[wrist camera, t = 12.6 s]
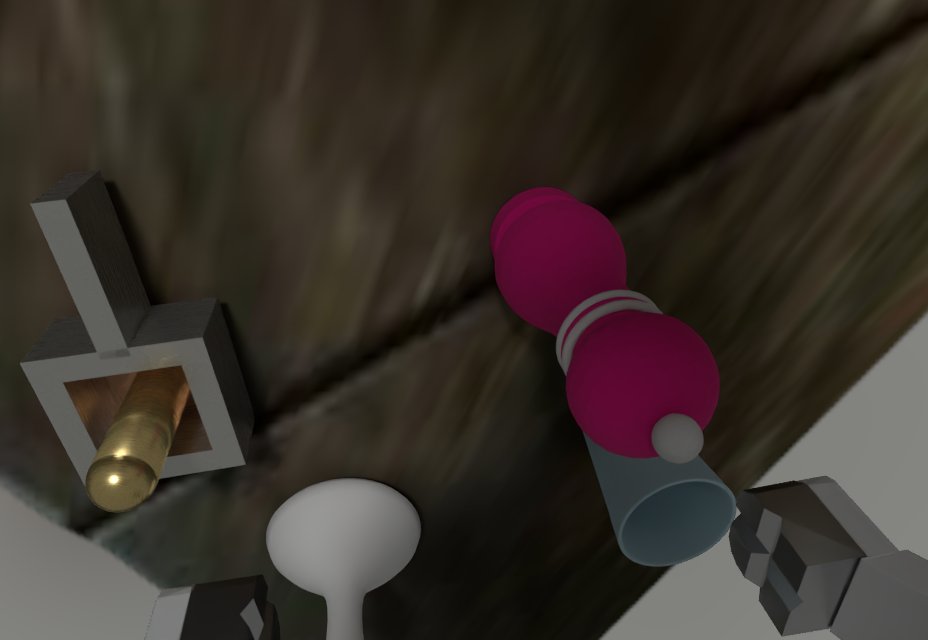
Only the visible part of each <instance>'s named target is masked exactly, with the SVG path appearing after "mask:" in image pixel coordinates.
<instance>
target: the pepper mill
mask: <svg viewBox="0 0 928 640" xmlns="http://www.w3.org/2000/svg"><path fill="white" fill-rule="evenodd" d="M490 248H491V252H492V255H493V258H494V260H495V276H496V282H497V285H498V288H499V290H500V292H501V294H502V296H503V297H504V299H505V300H506V302H507V303H508V305H509V306H510V307H511V309H512V310H513V311H514V312H515V313H516V314H518V315H519V316H520V317H521V318H522V319H524V320H525V321H526V322H528V323H529V324H531V325H533V326H535V327H537V328H539V329H542V330H544V331H547V332H550V333H552V334H553V335H554V336H556V337H557V340H556V354H557V358H558V361H559V364H560V366H561V367H562V369H563V370H564V373H565V375H566V395H567V400H568V405H569V408H570V410H571V413H572V414H573V416H574V418H575V420H576V422H577V423H578V425H579V426H580V428H581V429H582V430H583V432H584V433H585V434H586V435H587V436H588V437H589V438H590V439H591V440H592V441H593V442H594V443H596V444H597V445H599V446H600V447H602V448H604V449H605V450H607V451H608V452H611V453H614V454H617V455H621V456H625V457H629V458H653V457H659V456H661V457H662V458H663V459H665V460H667V461H668V462H672V463H677V464H679V463H687V462H689V461H691V460H693V459H694V458H695V457H696V456H697V455H698V454H699V452H700V451H701V449H702V447H703V441H704V440H703V433H702V431H703V429H704V428H705V427H706V426H707V424H708V423H709V422H710V420H711V418H712V416H713V413H714V411H715V408H716V406H717V403H718V398H719V389H720V377H719V372H718V367H717V364H716V362H715V359H714V357H713V355H712V353H711V351H710V349H709V347H708V346H707V344H706V343H705V342H704V340H703V339H702V338H701V337H700V336H699V335H698V334H697V333H696V332H695V331H694V330H693V329H692V328H691V327H690V326H688V325H687V324H685V323H683V322H682V321H680V320H678V319H676V318H674V317H671V316H668V315H665V314H663V313H662V312H661V311H660V310H659V309H658V308H657V306H656V305H655V304H654V303H653V302H652V301H651V300H650V299H649V298H647V297H646V296H644V295H642V294H640V293H637V292H634V291H630V290H629V289H628V287H627V286H626V255H625V251H624V247H623V244H622V241H621V238H620V236H619V235H618V233H617V231H616V230H615V228H614V227H613V225H612V224H611V223H610V221H609V220H608V219H607V218H606V217H605V216H604V215H603V214H602V213H600V212H599V211H598V210H596V209H595V208H593V207H591V206H589V205H586V204H583V203H581V202H579V201H578V200H577V199H576V198H574V197H573V196H572V195H571V194H569V193H567V192H565V191H563V190H561V189H557V188H553V187H539V188H533V189H530V190H526V191H523V192H521V193H519V194H518V195H516V196H514V197H513V198H512V199H511V200H509V201H508V202H507V203H506V204H505V205H504V206H503V207H502V208H501V210H500V211H499V212H498V214H497V216H496V218H495V220H494V222H493V224H492V228H491V232H490Z"/></svg>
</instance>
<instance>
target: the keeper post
mask: <svg viewBox="0 0 928 640" xmlns="http://www.w3.org/2000/svg"><path fill="white" fill-rule="evenodd" d="M110 377H111V379H112V382H113V384H114V386H115V388H116V391H117V393H118V395H119V397H120V399H121V402H122V404H121V406H120V408H119V410H118V412H117V414H116V416H115V418H114V420H113V422H112V424H111V426H110V428H109V430H108V432H107V434H106V436H105V438H104V439H103V441H102V443H101V445H100V447H99V449H98V451H97V453H96V455H95V457H94V459H93V461H92V463H91V465H90V467H89V470H88V472H87V475H86V480H85V485H86V491H87V494H88V496H89V498H90V499H91V501H92V502H93V503H94V504H95V505H96V506H98V507H99V508H101V509H104V510H106V511H110V512H125V511H129V510H132V509H134V508H137V507H139V506H140V505H142V504H143V503H144V502H146V501H147V500H148V499H149V497H150V496H151V495H152V493H153V492H154V490H155V488H156V486H157V483H158V480H159V477H160V474H161V472H162V469H163V466H164V463H165V460H166V458H167V455H168V452H169V449H170V447H171V444H172V441H173V438H174V435H175V433H176V430H177V427H178V424H179V421H180V419H181V416H182V413H183V410H184V409H186V408H192V407H197V406H196V403H195V400H194V398H193V395H192V392H191V390H190V387H189V384H188V382H187V379H186V376H185V373H184V371H183V368H182V365H180V366H173V367H166V368H159V369H152V370H145V371H138V372H132V373H125V374H118V375H111V376H110Z"/></svg>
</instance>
